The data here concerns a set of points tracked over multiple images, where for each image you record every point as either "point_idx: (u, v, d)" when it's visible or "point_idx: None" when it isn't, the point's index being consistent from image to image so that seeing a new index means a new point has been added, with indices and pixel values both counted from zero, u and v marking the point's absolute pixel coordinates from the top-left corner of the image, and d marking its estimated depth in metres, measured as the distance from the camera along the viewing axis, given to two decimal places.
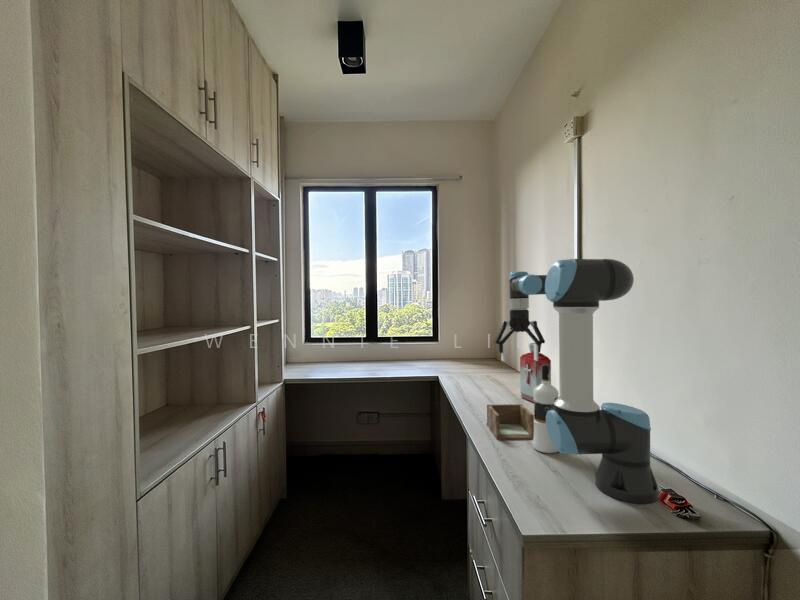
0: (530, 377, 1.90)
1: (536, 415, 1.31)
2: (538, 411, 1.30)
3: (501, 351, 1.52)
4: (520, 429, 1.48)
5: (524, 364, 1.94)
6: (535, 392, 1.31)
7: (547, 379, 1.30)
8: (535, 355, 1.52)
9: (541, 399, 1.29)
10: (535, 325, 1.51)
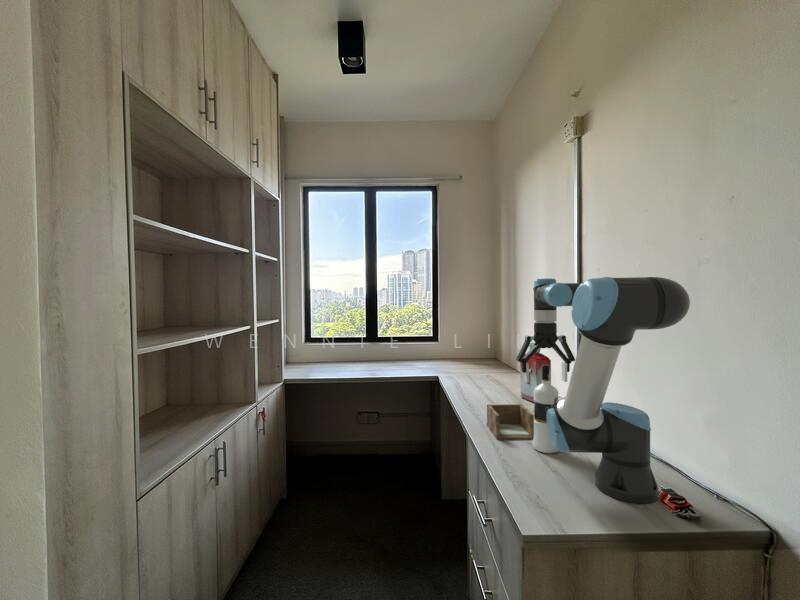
0: (530, 377, 1.90)
1: (536, 415, 1.31)
2: (538, 411, 1.30)
3: (524, 370, 1.31)
4: (520, 429, 1.48)
5: None
6: (535, 392, 1.31)
7: (547, 379, 1.30)
8: (563, 375, 1.31)
9: (541, 399, 1.29)
10: (564, 340, 1.30)
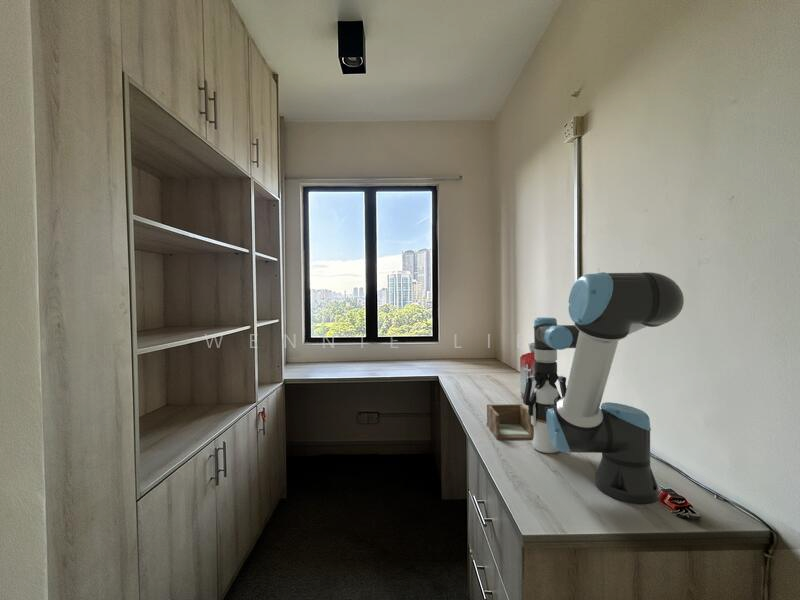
0: None
1: (536, 415, 1.31)
2: (538, 411, 1.30)
3: (531, 414, 1.31)
4: (520, 429, 1.48)
5: (524, 364, 1.94)
6: None
7: (547, 379, 1.30)
8: None
9: (541, 399, 1.29)
10: (563, 382, 1.30)
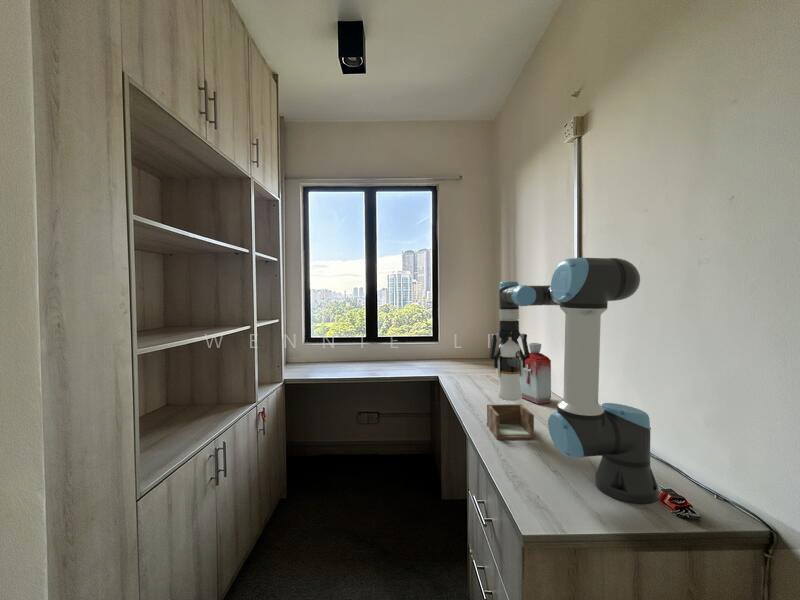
0: (530, 377, 1.90)
1: (500, 367, 1.47)
2: (501, 363, 1.47)
3: (496, 366, 1.48)
4: (520, 429, 1.48)
5: None
6: (499, 347, 1.47)
7: (510, 335, 1.47)
8: (520, 371, 1.48)
9: (504, 353, 1.45)
10: (524, 338, 1.47)
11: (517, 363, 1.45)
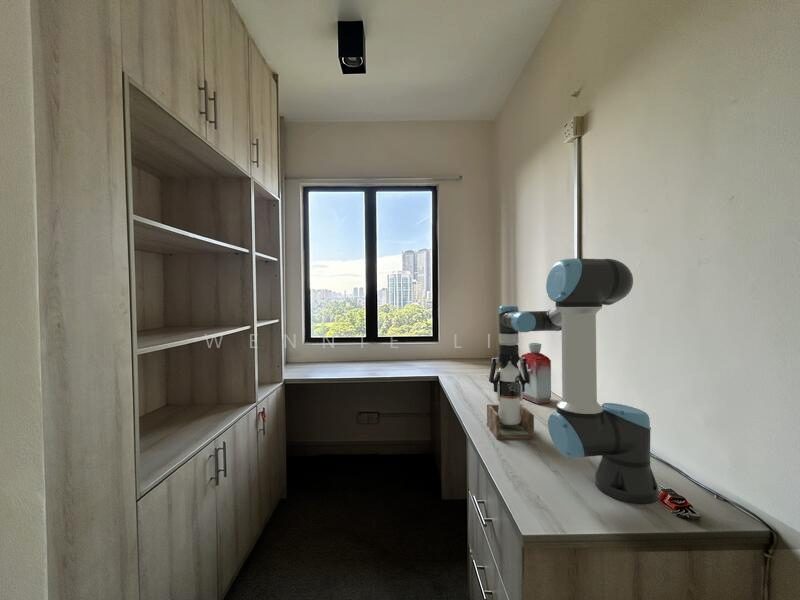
0: (530, 377, 1.90)
1: (500, 391, 1.48)
2: (501, 387, 1.47)
3: (496, 390, 1.48)
4: (520, 429, 1.48)
5: None
6: (499, 371, 1.48)
7: (510, 360, 1.47)
8: (519, 395, 1.48)
9: (504, 377, 1.46)
10: (524, 362, 1.47)
11: (517, 387, 1.45)
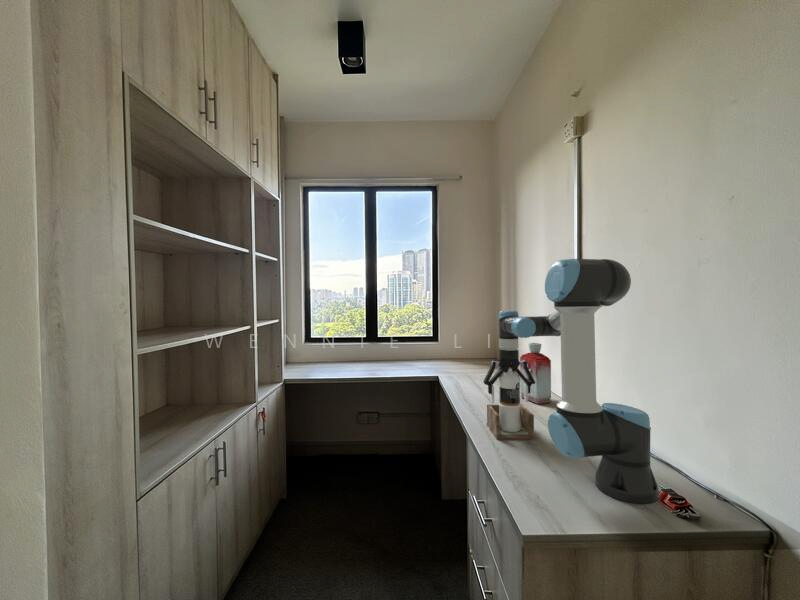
0: None
1: (500, 399, 1.48)
2: (501, 395, 1.47)
3: (490, 392, 1.48)
4: None
5: None
6: (500, 378, 1.48)
7: (510, 367, 1.47)
8: (525, 396, 1.48)
9: (504, 384, 1.45)
10: (525, 365, 1.47)
11: (517, 395, 1.45)
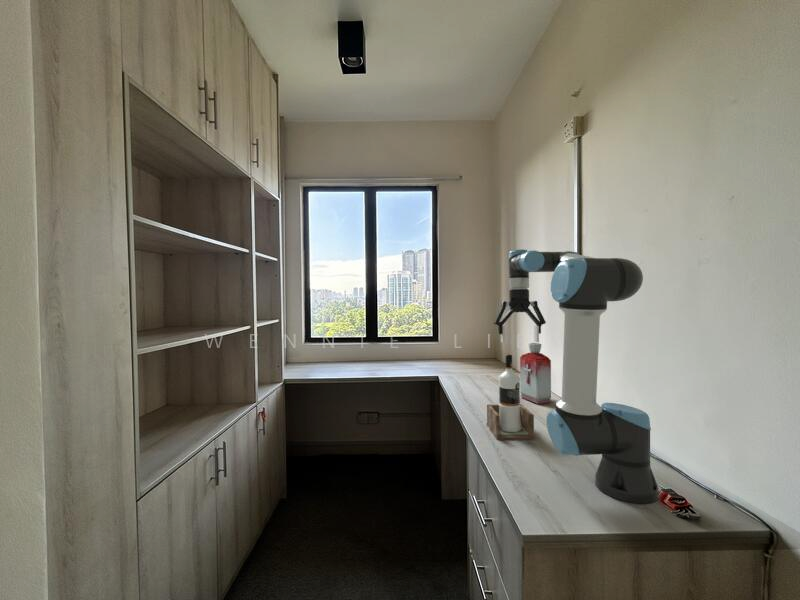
0: (530, 377, 1.90)
1: (500, 399, 1.48)
2: (501, 395, 1.47)
3: (501, 332, 1.46)
4: None
5: (524, 364, 1.94)
6: (499, 378, 1.48)
7: (510, 367, 1.47)
8: (536, 336, 1.47)
9: (504, 385, 1.45)
10: (535, 305, 1.46)
11: (517, 395, 1.45)
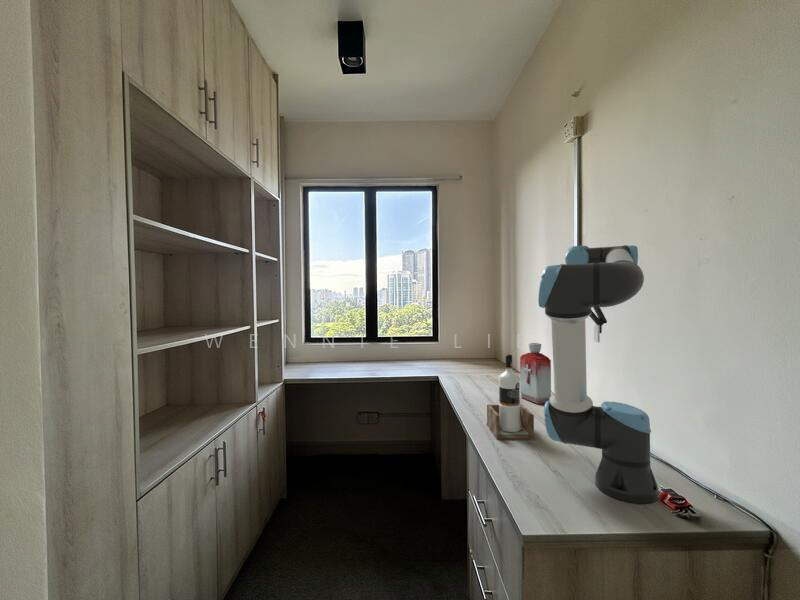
0: (530, 377, 1.90)
1: (500, 399, 1.48)
2: (501, 395, 1.47)
3: None
4: None
5: (524, 364, 1.94)
6: (499, 378, 1.48)
7: (510, 367, 1.47)
8: (596, 336, 1.41)
9: (504, 385, 1.45)
10: None
11: (517, 395, 1.45)
